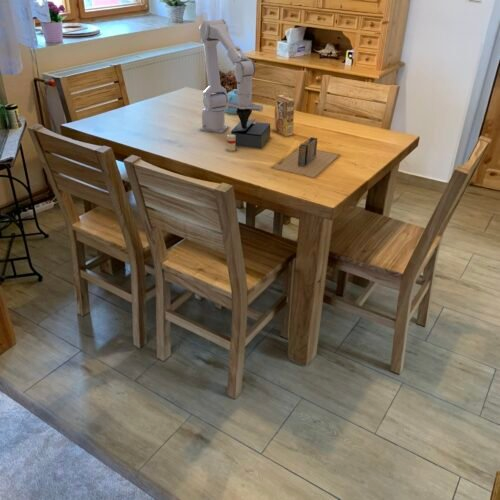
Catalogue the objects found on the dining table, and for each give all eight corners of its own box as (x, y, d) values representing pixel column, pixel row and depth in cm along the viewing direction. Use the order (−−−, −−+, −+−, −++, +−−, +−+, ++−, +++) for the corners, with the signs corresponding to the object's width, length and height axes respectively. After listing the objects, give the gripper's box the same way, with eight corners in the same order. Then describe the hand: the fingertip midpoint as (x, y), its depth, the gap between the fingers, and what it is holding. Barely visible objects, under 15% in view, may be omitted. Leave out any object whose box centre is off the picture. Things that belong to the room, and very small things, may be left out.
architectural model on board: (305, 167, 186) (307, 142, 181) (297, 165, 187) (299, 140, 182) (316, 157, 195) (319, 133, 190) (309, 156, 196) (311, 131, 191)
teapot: (223, 116, 237) (223, 94, 232) (217, 107, 249) (217, 86, 244) (253, 114, 240) (254, 93, 235) (245, 105, 253) (246, 85, 247)
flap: (230, 131, 201) (230, 131, 201) (241, 121, 213) (241, 120, 213) (245, 130, 199) (245, 129, 199) (255, 119, 211) (255, 119, 211)
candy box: (293, 135, 216) (295, 99, 208) (285, 136, 214) (287, 100, 206) (281, 129, 223) (282, 94, 214) (273, 130, 221) (274, 95, 212)
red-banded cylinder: (226, 151, 199) (226, 136, 196) (228, 148, 202) (228, 133, 198) (234, 152, 198) (234, 137, 195) (236, 149, 201) (236, 134, 198)
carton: (230, 145, 204) (230, 131, 201) (241, 134, 216) (241, 120, 213) (261, 149, 201) (261, 134, 198) (270, 137, 213) (270, 123, 210)
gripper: (223, 94, 193) (223, 128, 200) (259, 97, 190) (258, 132, 197) (229, 89, 199) (229, 123, 206) (264, 92, 196) (263, 127, 203)
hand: (244, 127), depth 202 cm, fingers closed
